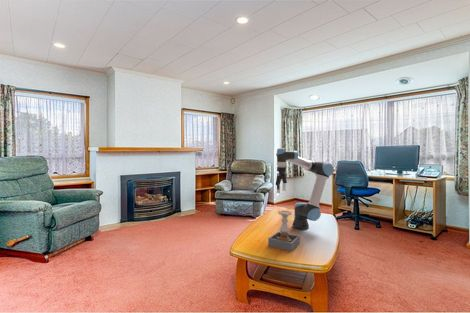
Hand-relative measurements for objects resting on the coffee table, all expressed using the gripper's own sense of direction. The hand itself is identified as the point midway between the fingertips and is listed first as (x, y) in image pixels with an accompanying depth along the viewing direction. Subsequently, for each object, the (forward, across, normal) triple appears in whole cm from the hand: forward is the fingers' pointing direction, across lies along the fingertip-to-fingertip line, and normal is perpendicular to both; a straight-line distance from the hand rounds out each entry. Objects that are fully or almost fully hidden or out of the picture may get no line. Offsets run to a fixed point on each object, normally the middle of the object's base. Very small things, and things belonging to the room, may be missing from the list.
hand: (281, 191), depth 213 cm
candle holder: (+36, +18, +9) cm, 41 cm away
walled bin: (+37, +18, +9) cm, 42 cm away
